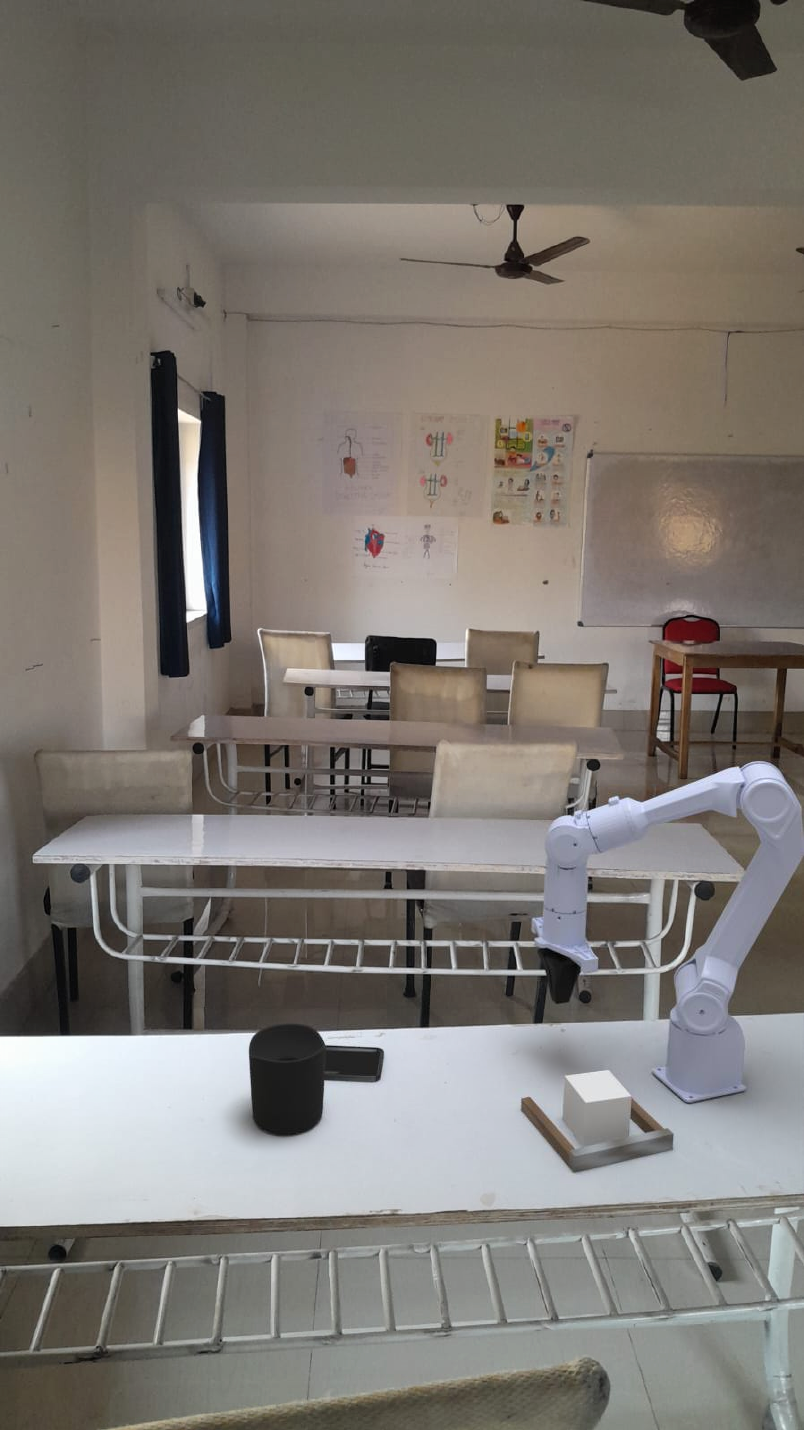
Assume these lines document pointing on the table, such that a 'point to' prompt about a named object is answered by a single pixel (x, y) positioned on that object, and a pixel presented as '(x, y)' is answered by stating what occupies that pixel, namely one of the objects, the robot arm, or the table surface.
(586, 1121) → the white cube
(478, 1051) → the table surface
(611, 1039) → the table surface
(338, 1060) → the phone
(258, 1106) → the pen holder
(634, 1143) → the u-shaped frame
